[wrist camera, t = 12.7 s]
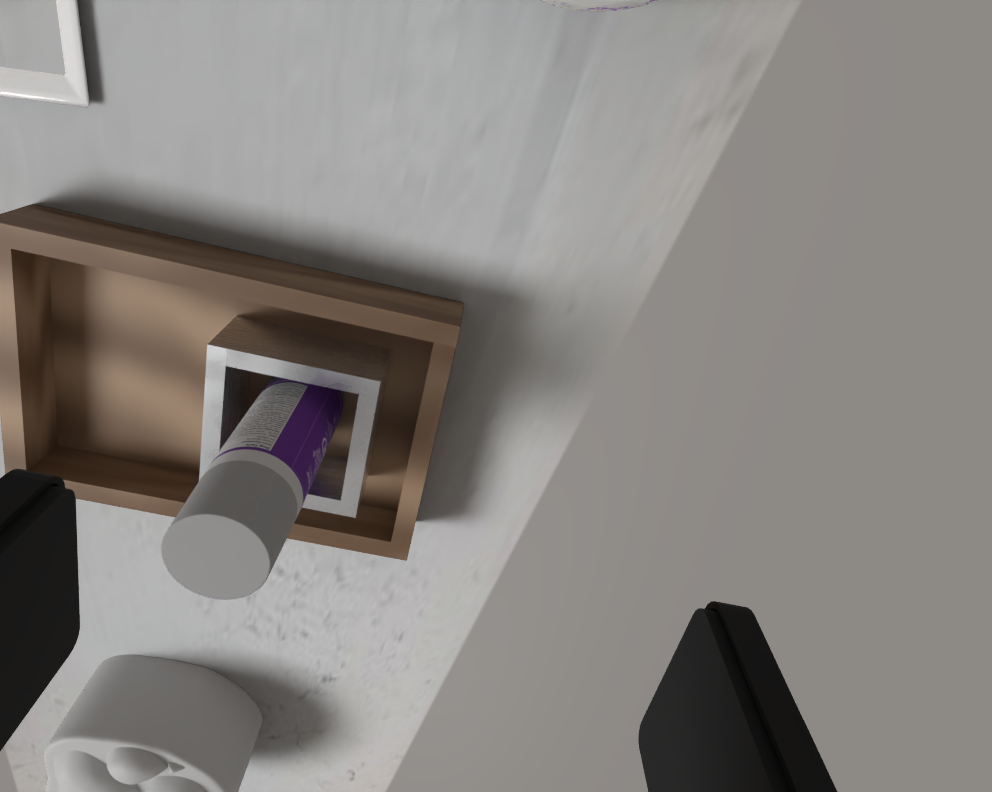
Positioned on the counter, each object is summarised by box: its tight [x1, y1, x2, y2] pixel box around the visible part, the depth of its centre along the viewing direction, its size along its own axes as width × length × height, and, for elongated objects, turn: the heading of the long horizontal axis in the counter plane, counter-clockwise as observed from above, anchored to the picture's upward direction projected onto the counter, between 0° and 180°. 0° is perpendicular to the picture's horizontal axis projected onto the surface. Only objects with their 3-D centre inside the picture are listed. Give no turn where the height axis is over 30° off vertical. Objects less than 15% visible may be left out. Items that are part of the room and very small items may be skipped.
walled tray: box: [0, 204, 464, 561], centre depth 40 cm, size 16×24×4 cm, turn 76°
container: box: [161, 376, 345, 600], centre depth 35 cm, size 5×5×15 cm
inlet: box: [199, 315, 392, 518], centre depth 40 cm, size 9×9×4 cm
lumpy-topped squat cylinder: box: [44, 655, 262, 792], centre depth 51 cm, size 10×13×9 cm
